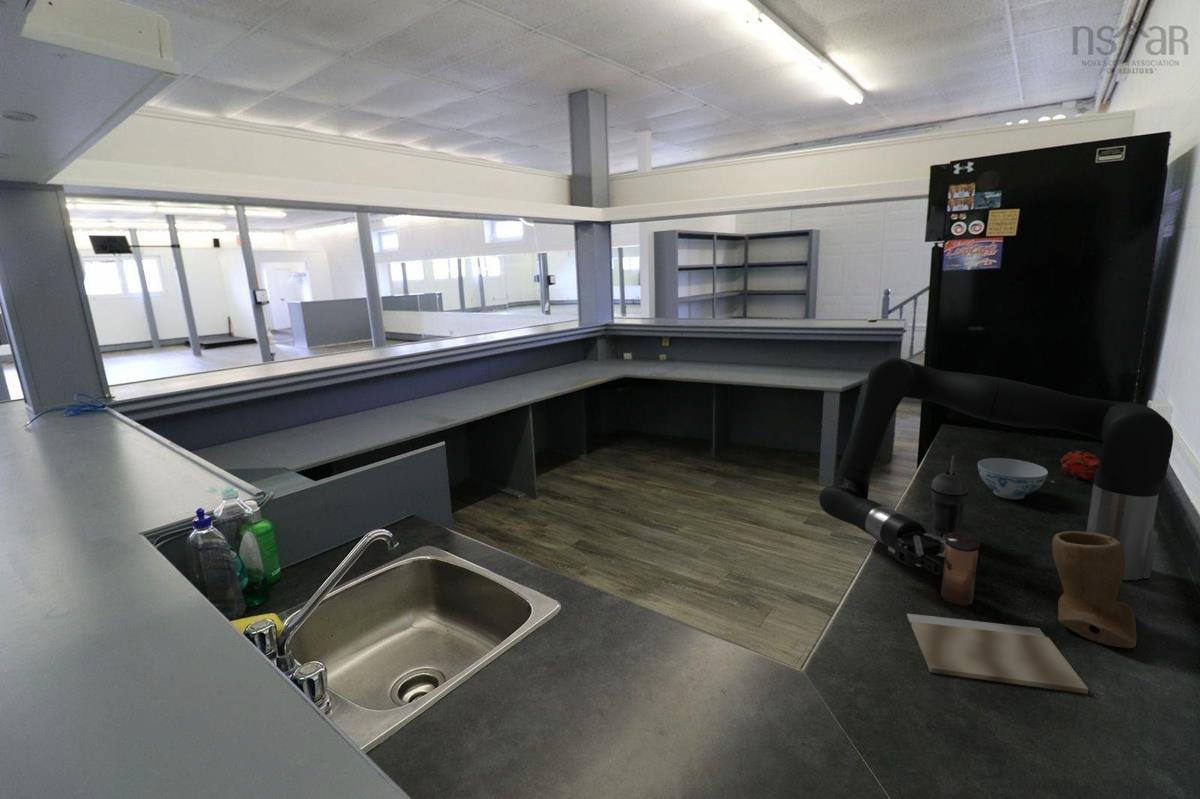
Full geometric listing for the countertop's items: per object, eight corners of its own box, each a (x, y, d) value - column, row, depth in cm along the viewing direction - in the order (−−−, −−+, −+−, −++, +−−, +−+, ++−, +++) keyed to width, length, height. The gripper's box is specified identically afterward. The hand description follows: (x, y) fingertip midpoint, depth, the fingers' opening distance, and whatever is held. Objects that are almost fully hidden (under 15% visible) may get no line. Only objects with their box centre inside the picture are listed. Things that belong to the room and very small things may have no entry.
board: (1047, 641, 91) (1048, 637, 91) (1087, 693, 80) (1088, 689, 79) (911, 625, 96) (911, 621, 96) (930, 672, 85) (930, 667, 85)
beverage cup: (961, 533, 128) (969, 450, 124) (966, 547, 122) (975, 460, 118) (925, 528, 132) (931, 447, 127) (928, 542, 125) (935, 457, 121)
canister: (967, 591, 106) (974, 533, 103) (977, 607, 101) (984, 546, 98) (936, 588, 107) (942, 531, 104) (945, 603, 102) (951, 543, 100)
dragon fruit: (1055, 476, 163) (1106, 494, 153) (1051, 466, 157) (1104, 484, 148) (1068, 452, 163) (1121, 467, 154) (1065, 440, 158) (1119, 456, 149)
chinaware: (982, 502, 144) (985, 474, 143) (969, 482, 158) (971, 456, 156) (1053, 508, 139) (1057, 479, 137) (1033, 487, 152) (1037, 460, 151)
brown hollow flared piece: (1047, 590, 105) (1057, 516, 102) (1134, 613, 97) (1148, 534, 94) (1037, 629, 94) (1048, 547, 91) (1134, 658, 86) (1150, 570, 83)
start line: (1038, 629, 94) (1039, 628, 94) (1045, 638, 92) (1045, 636, 91) (906, 615, 99) (907, 613, 99) (910, 622, 97) (910, 621, 97)
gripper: (866, 518, 115) (929, 553, 100) (922, 508, 119) (992, 541, 103) (864, 551, 117) (926, 591, 102) (920, 540, 120) (988, 577, 105)
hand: (959, 565), depth 103 cm, fingers open, 8 cm apart
